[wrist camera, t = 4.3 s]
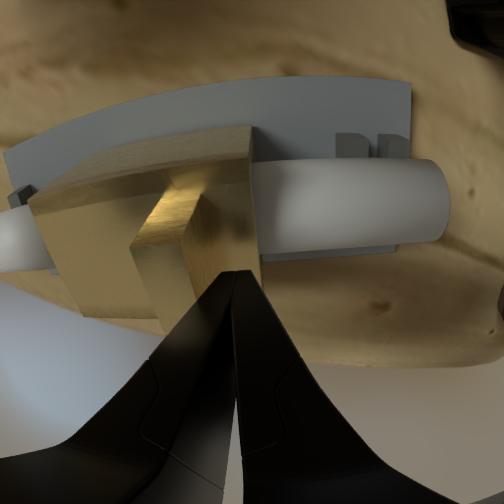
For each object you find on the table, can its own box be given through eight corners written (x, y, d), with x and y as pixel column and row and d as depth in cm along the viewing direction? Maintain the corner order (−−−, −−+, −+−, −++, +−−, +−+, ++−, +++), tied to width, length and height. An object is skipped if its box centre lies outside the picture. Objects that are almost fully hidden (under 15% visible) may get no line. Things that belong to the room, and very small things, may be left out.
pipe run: (403, 81, 11) (474, 95, 6) (390, 245, 17) (428, 310, 12) (9, 148, 13) (-50, 184, 8) (56, 268, 18) (19, 321, 14)
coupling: (251, 123, 12) (243, 194, 5) (262, 233, 15) (265, 372, 8) (96, 151, 13) (-16, 237, 6) (125, 245, 16) (62, 360, 9)
